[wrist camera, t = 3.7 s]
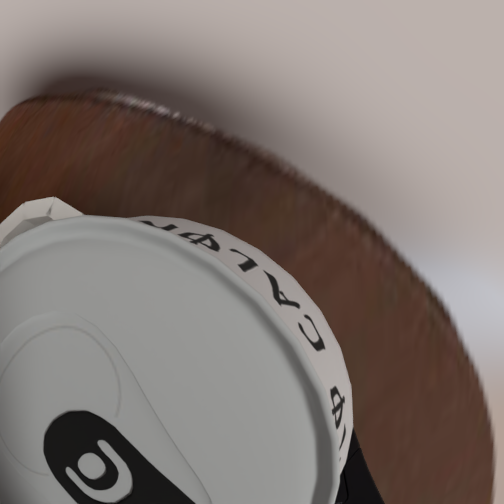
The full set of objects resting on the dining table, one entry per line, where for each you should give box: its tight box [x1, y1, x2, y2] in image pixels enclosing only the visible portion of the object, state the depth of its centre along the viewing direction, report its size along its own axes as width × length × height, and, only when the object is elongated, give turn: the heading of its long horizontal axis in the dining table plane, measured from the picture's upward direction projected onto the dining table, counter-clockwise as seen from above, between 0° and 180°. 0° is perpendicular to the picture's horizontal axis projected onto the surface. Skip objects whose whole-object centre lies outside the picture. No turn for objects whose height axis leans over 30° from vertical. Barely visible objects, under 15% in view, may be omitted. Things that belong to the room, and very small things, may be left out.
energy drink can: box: [0, 215, 353, 504], centre depth 9 cm, size 6×6×15 cm
